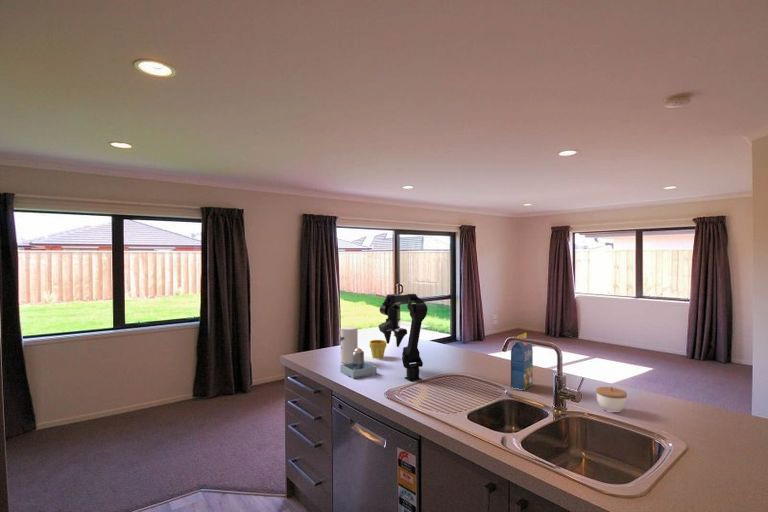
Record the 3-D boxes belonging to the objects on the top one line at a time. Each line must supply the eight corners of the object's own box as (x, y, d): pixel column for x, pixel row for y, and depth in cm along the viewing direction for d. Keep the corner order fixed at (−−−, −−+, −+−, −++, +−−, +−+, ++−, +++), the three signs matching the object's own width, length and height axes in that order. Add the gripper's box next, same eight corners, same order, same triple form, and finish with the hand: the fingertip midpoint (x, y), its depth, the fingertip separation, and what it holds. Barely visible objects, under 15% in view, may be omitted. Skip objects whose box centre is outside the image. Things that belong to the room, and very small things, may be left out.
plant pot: (386, 359, 234) (386, 343, 234) (369, 359, 234) (369, 343, 234) (386, 355, 244) (386, 339, 244) (370, 355, 245) (370, 339, 245)
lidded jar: (611, 416, 151) (611, 392, 151) (590, 406, 161) (590, 383, 161) (633, 413, 154) (633, 390, 154) (611, 404, 164) (611, 381, 164)
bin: (376, 374, 206) (376, 366, 206) (353, 378, 198) (353, 371, 198) (362, 367, 217) (362, 360, 217) (340, 372, 209) (340, 364, 209)
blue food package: (510, 388, 183) (510, 335, 183) (520, 382, 193) (520, 331, 193) (523, 391, 179) (523, 337, 179) (532, 384, 189) (532, 333, 189)
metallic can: (364, 372, 205) (364, 349, 205) (353, 373, 204) (352, 349, 204) (363, 369, 211) (363, 346, 211) (352, 370, 210) (352, 347, 210)
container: (338, 360, 233) (338, 326, 233) (354, 358, 237) (354, 325, 237) (343, 364, 224) (343, 329, 224) (360, 362, 228) (360, 328, 228)
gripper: (371, 316, 218) (371, 343, 218) (390, 320, 203) (390, 350, 203) (387, 314, 224) (387, 341, 224) (407, 318, 209) (407, 347, 209)
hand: (392, 345), depth 215 cm, fingers open, 9 cm apart
